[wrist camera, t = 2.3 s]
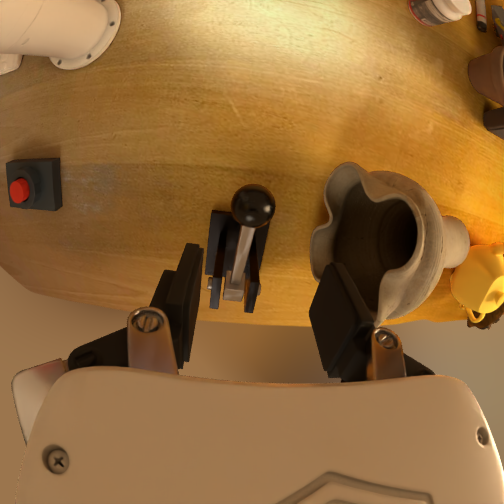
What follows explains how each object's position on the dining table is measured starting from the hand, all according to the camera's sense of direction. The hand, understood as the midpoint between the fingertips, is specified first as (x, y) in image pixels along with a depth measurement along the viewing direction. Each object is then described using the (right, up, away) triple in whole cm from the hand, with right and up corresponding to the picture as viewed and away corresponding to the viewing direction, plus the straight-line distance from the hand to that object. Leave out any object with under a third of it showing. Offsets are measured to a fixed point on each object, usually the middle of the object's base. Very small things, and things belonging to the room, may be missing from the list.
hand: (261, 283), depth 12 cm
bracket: (-3, +2, +28) cm, 28 cm away
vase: (+21, +5, +27) cm, 35 cm away
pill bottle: (+25, +38, +9) cm, 46 cm away
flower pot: (+38, +31, +13) cm, 51 cm away
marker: (+41, +47, +4) cm, 63 cm away
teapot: (+45, 0, +31) cm, 55 cm away
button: (-36, +11, +18) cm, 42 cm away
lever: (-1, +3, +15) cm, 15 cm away
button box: (-36, +13, +21) cm, 44 cm away
